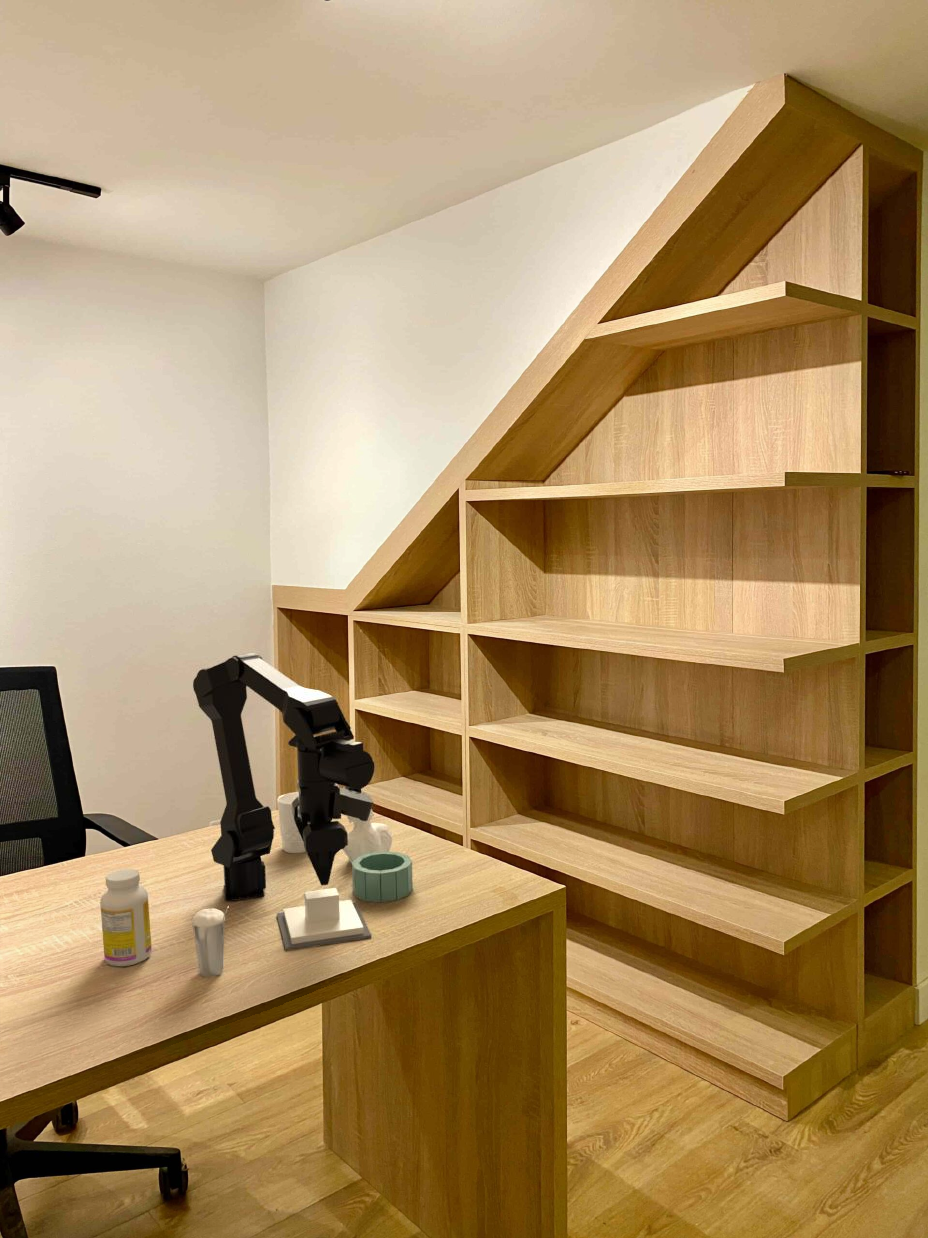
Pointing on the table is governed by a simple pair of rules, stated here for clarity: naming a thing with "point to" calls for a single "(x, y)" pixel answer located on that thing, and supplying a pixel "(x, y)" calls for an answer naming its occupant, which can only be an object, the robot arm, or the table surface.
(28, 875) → the table surface
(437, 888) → the table surface
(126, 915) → the supplement bottle
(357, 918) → the lid
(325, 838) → the robot arm
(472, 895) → the table surface
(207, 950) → the milkshake
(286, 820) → the white cup
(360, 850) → the bust
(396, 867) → the bowl
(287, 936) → the mat
